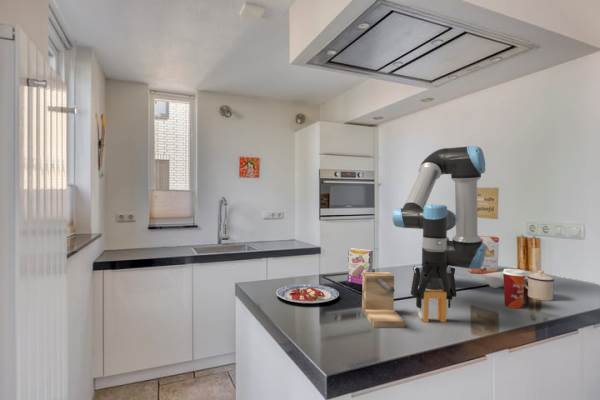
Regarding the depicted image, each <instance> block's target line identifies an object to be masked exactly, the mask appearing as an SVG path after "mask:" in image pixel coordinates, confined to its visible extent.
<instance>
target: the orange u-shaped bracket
mask: <svg viewBox="0 0 600 400" xmlns="http://www.w3.org/2000/svg"><path fill="white" fill-rule="evenodd" d="M446 294H447V292H445V291H443V290H435V289H426V290H425V292H424V294H423V297H422V298H423V299H424V319H422V318H420V317H419V319H420V320H421V321H422V322H423V323H429V307H430V299H437V317H436V318H437V320H438V321H440V323H447V319H446Z"/></svg>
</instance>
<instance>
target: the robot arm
mask: <svg viewBox="0 0 600 400" xmlns="http://www.w3.org/2000/svg"><path fill="white" fill-rule="evenodd" d="M485 172H486V159H485V155H484V151H483V150H482V148H481V147H480V146H477V145H475V146H473V145H472V146H470V145H469V146H459V147H458V146H457V147H443V148H440V149H437V150H434V151H433V152H432V153H430V154H429V155H428V156H427V157H426V158H424V159H423V161H422V162H421V163H420V166H419V168H418V175H417V177H416V180H415V182H414V184H413V186H412V188H411V189H410V192H409V193H408V196H407V198H406V200H405V202H404V205H403V207H399V208H395V209H394V210H393V212H392V222H393V225H394V226H395V227H396V228H401V229H402V228H403V229H417V230H418V229H419V230H422V243H421V244H422V247H421V249H422V250H421V265H420V266H416V265H414V266H413V268H412V270H413V276H412V277H413V278H412V281H411V282H412V284H411V290H410V295H411V296H413V297H414V298H415V299H416V300H415V302H416V303H415V305H416V307H417V308H418V317H419V319H420V318H422V319H424V299H423V298H422V297H423V294H424V292H425V290H427V289H428V290H443V291H445V292H447V294H446V320H447V319H449V309H450V308H451V304H452V303H451V301H452V300H453V298H456V297H457V287H456V286H457V285H456V279H455V273H456V268H461V269H462V268H463V269H468V268H469V269H480V268H481V267H482V265H483V262H484V258H485V252H486V245H485V244H484V243H482V242H481V238H480V237H479V236H480V235H479V234H478V181H479V180H480V179H481V177H482V175H483V174H485ZM442 175H450V178H451V180H452V181H453V182H454V191H455V193H454V197H455V198H454V199H455V201H454V203H455V212H453V211H452V210H449V209H448V206H447V205H445V204H427V202H428V200H429V197H430V195H431V192H432V190H433V188H434V185H435V184H436V181H437V180H438V179H439V178H441V176H442ZM453 228H455V235H454V236H453V237H452V238H451V239H452V240H450V238H449V237H448V236H447V234H448V232H447V231H451V230H452V229H453ZM454 267H455V268H454Z"/></svg>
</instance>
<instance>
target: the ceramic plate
mask: <svg viewBox="0 0 600 400" xmlns="http://www.w3.org/2000/svg"><path fill="white" fill-rule="evenodd" d="M339 295H340V293H339V291H338V290H336V289H335V288H333V287H330V286H325V285H322V284H313V283H312V284H311V283H299V284H290V285H286V286H283V287H280V288H278V289H277V290H276V296H277V297H279V298H281V299H283V300H285V301H287V302H293V303H298V304H309V305H311V304H319V303H326V302H330V301H333V300H335V299H338V297H339Z"/></svg>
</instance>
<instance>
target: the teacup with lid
mask: <svg viewBox="0 0 600 400" xmlns="http://www.w3.org/2000/svg"><path fill="white" fill-rule="evenodd" d="M527 279H528V282H526V280H527ZM554 281H555V279H554V278H553V276H550V275H548V274H547V273H544V270H540V269H539V270H537V272H535V273H534V274H529V275H528V278H525V280H524V288H525V289H527V297H528V298H530V299H533V300H538V301H542V302H544V301H546V302H548V301H549V302H550V301H554Z"/></svg>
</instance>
